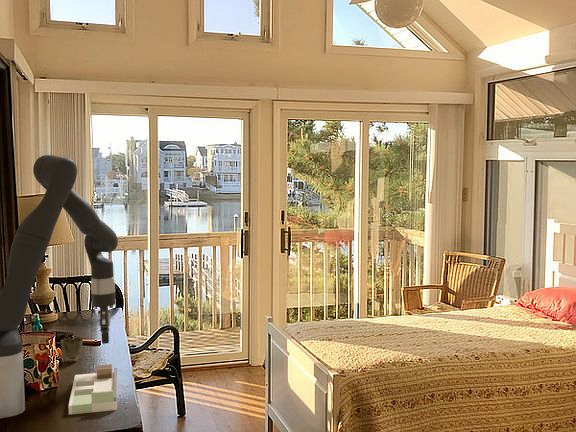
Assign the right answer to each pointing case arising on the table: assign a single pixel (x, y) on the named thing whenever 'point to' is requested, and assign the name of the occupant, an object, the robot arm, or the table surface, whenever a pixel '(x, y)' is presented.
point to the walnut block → (104, 371)
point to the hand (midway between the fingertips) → (105, 342)
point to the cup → (71, 348)
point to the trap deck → (93, 394)
